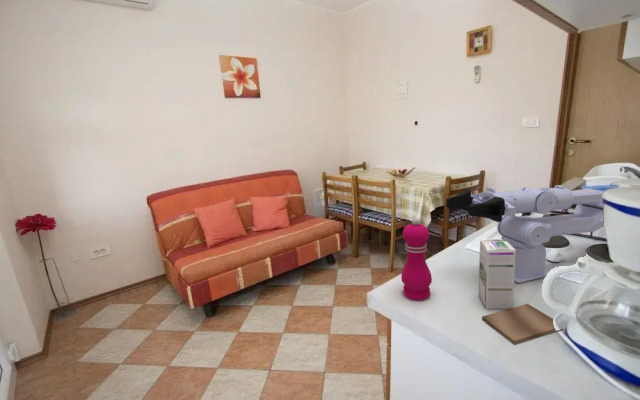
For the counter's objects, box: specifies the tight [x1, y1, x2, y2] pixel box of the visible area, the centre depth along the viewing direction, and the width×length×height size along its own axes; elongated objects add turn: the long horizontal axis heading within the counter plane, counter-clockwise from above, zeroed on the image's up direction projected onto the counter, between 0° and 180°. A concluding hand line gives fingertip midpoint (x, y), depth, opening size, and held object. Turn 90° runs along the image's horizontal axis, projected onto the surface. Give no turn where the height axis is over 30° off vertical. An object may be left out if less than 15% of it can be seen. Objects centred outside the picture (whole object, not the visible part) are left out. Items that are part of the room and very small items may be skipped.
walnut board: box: [481, 303, 556, 345], centre depth 62 cm, size 12×8×1 cm, turn 105°
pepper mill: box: [400, 217, 433, 301], centre depth 74 cm, size 7×7×20 cm
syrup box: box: [478, 239, 516, 311], centre depth 68 cm, size 6×6×14 cm
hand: (457, 206), depth 72 cm, fingers open, 7 cm apart
